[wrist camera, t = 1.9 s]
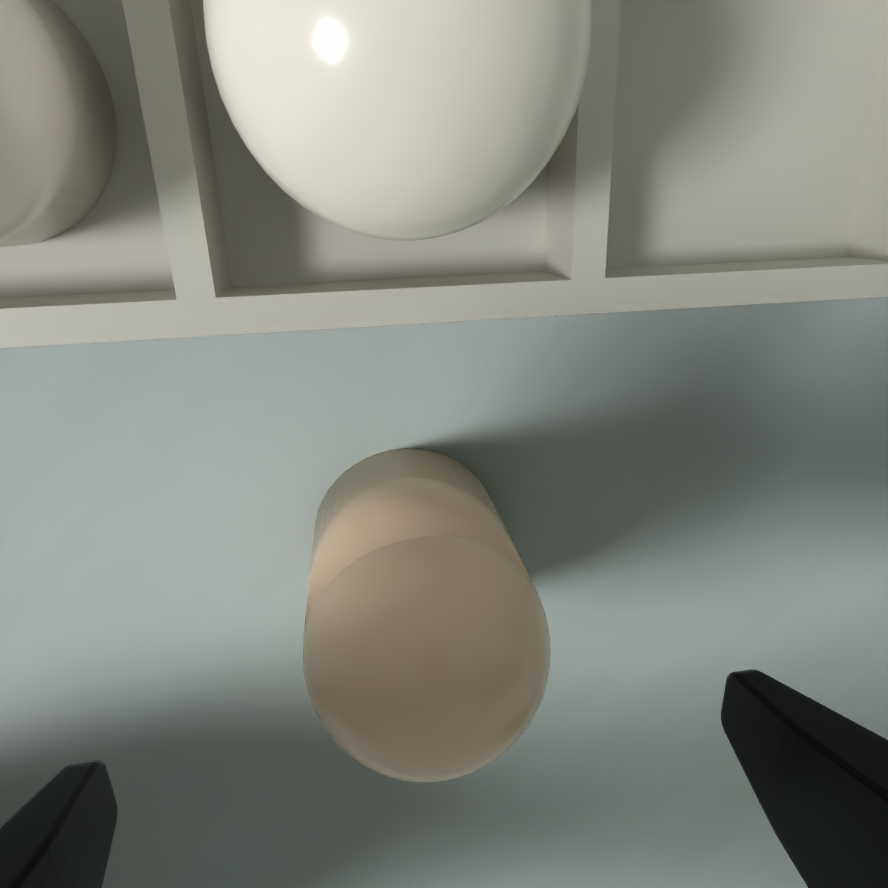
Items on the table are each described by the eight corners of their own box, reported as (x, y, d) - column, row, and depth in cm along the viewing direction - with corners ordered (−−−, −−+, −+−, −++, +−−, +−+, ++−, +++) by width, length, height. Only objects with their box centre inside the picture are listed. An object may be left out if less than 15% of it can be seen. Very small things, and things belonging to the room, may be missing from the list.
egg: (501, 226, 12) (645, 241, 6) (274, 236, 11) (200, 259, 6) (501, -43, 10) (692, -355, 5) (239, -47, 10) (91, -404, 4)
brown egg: (495, 599, 15) (581, 823, 10) (324, 618, 15) (309, 867, 9) (494, 441, 14) (595, 596, 8) (304, 456, 13) (273, 635, 8)
